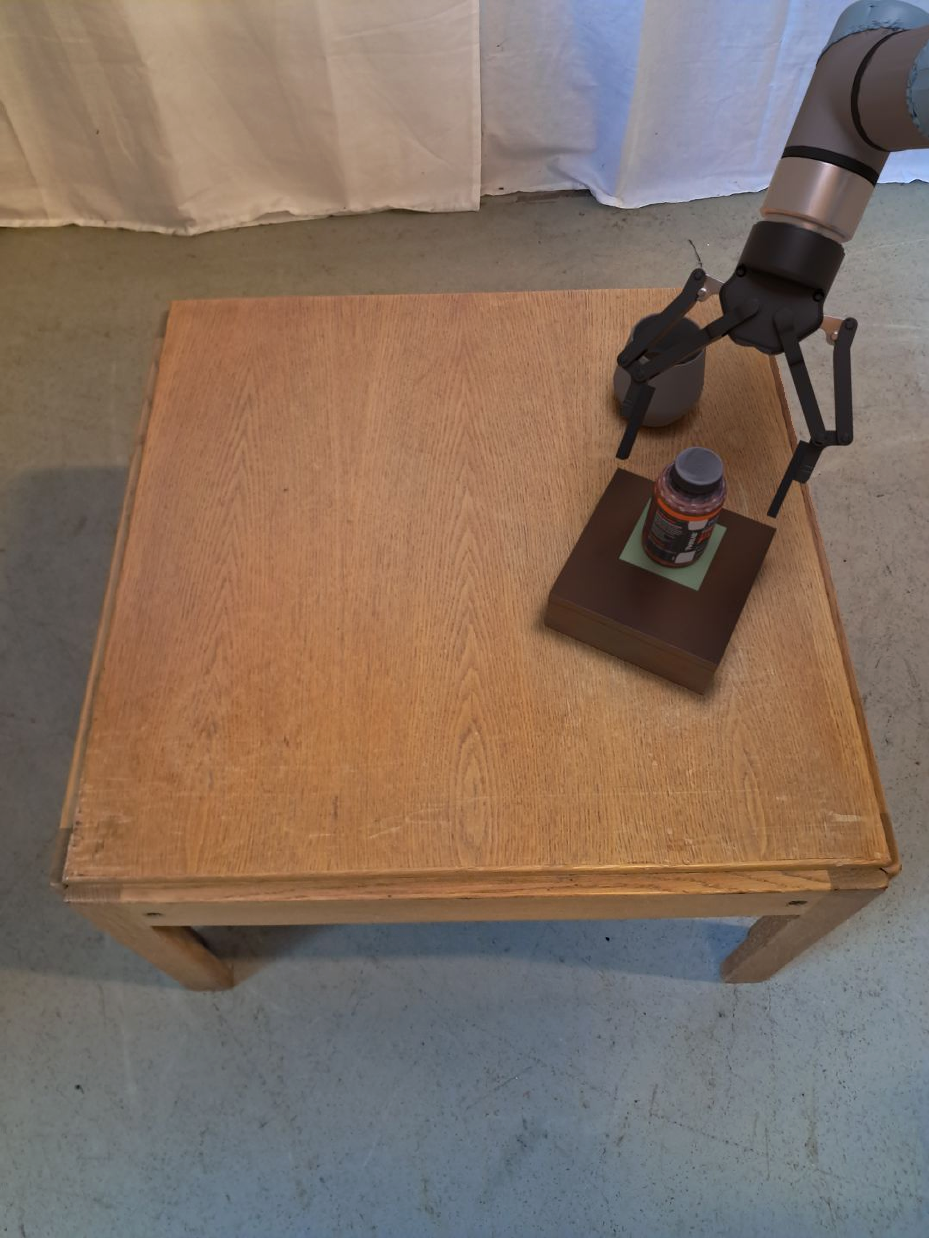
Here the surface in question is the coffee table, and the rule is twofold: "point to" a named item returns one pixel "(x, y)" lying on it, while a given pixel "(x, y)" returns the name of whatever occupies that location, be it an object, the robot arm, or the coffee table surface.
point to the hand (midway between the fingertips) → (694, 486)
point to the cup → (667, 375)
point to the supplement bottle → (684, 507)
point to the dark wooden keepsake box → (656, 588)
